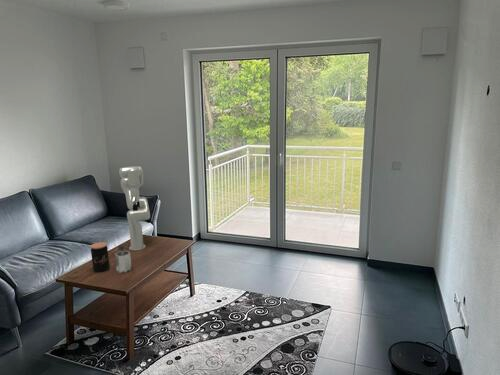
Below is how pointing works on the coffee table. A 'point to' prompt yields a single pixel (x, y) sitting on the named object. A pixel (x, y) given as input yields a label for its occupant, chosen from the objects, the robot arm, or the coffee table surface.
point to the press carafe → (123, 261)
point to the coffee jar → (100, 256)
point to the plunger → (122, 248)
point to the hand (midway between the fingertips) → (136, 208)
